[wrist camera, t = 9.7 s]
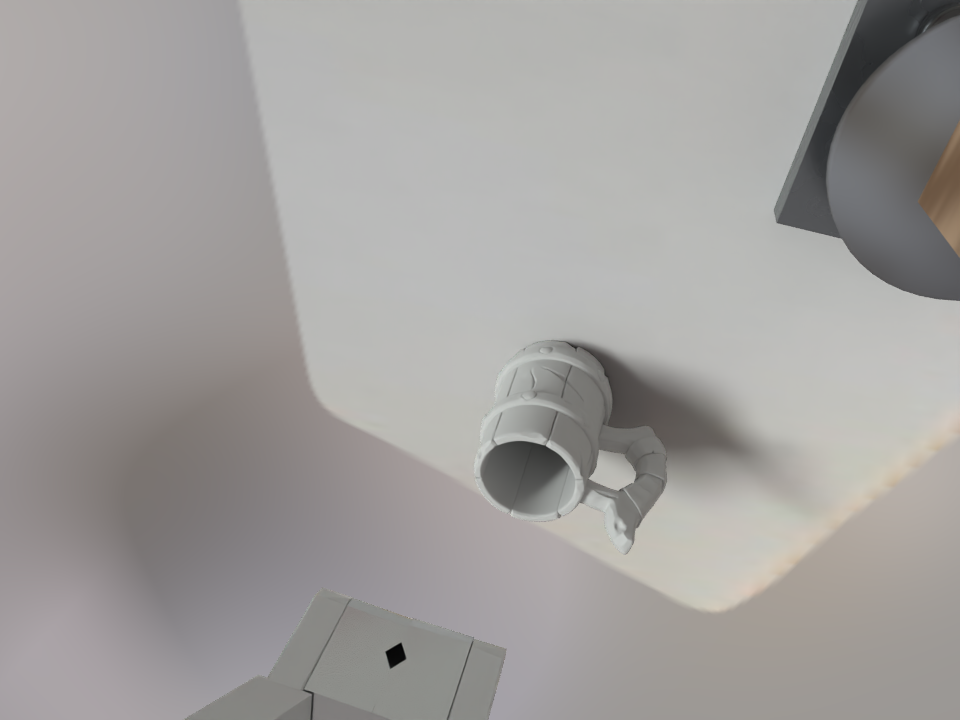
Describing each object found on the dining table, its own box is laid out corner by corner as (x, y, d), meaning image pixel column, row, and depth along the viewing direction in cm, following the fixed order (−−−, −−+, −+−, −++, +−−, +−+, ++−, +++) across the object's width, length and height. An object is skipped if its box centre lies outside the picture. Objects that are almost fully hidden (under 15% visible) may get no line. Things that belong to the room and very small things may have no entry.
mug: (519, 318, 47) (470, 426, 37) (694, 384, 46) (691, 513, 37) (487, 407, 52) (436, 525, 42) (647, 469, 51) (633, 605, 41)
